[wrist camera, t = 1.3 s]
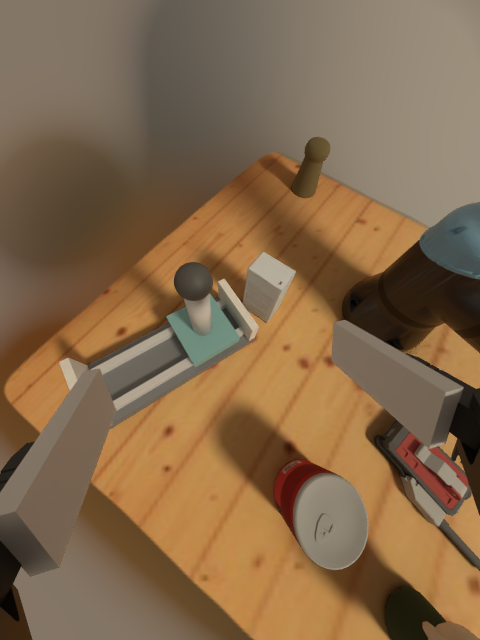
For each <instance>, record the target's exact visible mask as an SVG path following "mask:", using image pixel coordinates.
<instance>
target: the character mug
mask: <svg viewBox="0 0 480 640" xmlns="http://www.w3.org/2000/svg"><path fill="white" fill-rule="evenodd" d="M385 608H386V625H387V628H388V632H389V635H390V638H391V639H392V640H480V639H479V638H477V637H476V636H475V635H474V634H473V633H471V632H470V631H469V630H468V629H466V628H465V627H463V626H461V625H458V624H456V623H453V622H450V621H449V622H446V621H445V619H444V618H443V617H442V616H441V615H440V614H439V613H438V612H437V610H436V609H435V608H434V607H433V606H432V605H431V604H430V603H429V602H428V601H427V600H426V599H425V598H424V597H423V595H422V594H421V593H420V592H418V591H416V590H414V589H412V588H410V587H405V588H399V589H398V590H397V591H396V592H395V593H393V594H392V595H391V597H390V599H389V601H388V603H387V604H386V606H385Z"/></svg>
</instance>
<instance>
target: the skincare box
mask: <svg viewBox="0 0 480 640" xmlns="http://www.w3.org/2000/svg"><path fill="white" fill-rule="evenodd" d="M295 273H296V271H295V270H293V269H291V268H290V267H288V266H286V265H285V264H283V263H281V262H280V261H278V260H276V259H275V258H273V257H271V256H270V255H268V254H267V253H265V252H262V253H261V255H260V256H259V257H258V258H257V259H256V260H255V261H254V262H253V263H252V264H251V265H250V266H249V268H248V271H247V278H246V284H245V290H244V296H243V302H242V304H243V305H244V307H245V308H246V309H247V310H249V311H250V312H252V313H253V314H255V315H256V316H258V317H259V318H260V319H262V320H263V321H265V322H266V323H268V321H269V320H270V319H271V317H272V316H273V315H274V313H275V312H276V311H277V309H278V308H279V306H280V304H281V302H282V300H283V298H284V296H285V294H286V292H287V289H288V287H289V285H290V283H291V281H292V279H293V277H294V275H295Z"/></svg>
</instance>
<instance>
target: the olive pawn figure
mask: <svg viewBox="0 0 480 640" xmlns="http://www.w3.org/2000/svg"><path fill="white" fill-rule="evenodd" d="M329 152H330V144H329V142H328V141H327V140H325V139H324V138H321V137H315V138H312V139H310V140H309V141H308V143H307V145H306V147H305V158H304V160H303V162H302V164H301V166H300V169H299V171H298V173H297V175H296V177H295V180H294V182H293V184H292V187H291V189H292V192H293V193H294V194H295V195H297V196H299V197H301V198H310V197H312V196H313V195H314V194H315V191H316V187H317V183H318V180H319V176H320V172H321V168H322V164H323V161H325V160H326V158H327V157H328V155H329Z"/></svg>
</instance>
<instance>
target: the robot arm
mask: <svg viewBox="0 0 480 640" xmlns="http://www.w3.org/2000/svg"><path fill="white" fill-rule="evenodd" d="M342 311H343V317H344V320H341V321H336V322H334V325H333V343H332V362H333V363H334V364H335V365H336V366H337V367H339V368H340V369H341V370H342V371H343V372H344V373H345V374H346V375H348V376H349V377H350V378H351V379H352V380H353V381H354V382H355V383H356V384H358V385H359V386H360V387H361V388H362V389H363V390H364V391H365V392H366V393H368V394H369V395H370V396H371V397H372V398H373V399H374V400H375V401H376V402H378V403H379V404H380V405H381V406H382V407H383V408H384V409H385V410H386V411H388V412H389V413H390V414H391V415H392V416H393V417H394V418H395V419H396V420H398V421H399V422H400V423H401V424H402V425H403V426H404V427H405V428H406V429H408V430H409V431H410V432H411V433H412V434H413V435H414V436H415V437H416V438H418V439H419V440H420V441H421V442H422V443H423V444H424V445H425V446H426V447H428V448H429V449H431V448H434V447H437V446H440V445H443V444H446V440H447V437H448V434H449V432H450V433H452V434H453V435H454V436H455V437H457V441H456V444H455V447H454V450H453V453H452V456H451V460H452V461H455V460H456V458H457V456H458V455H459V456H460V459H461V463H462V465H463V468H464V471H465V474H466V477H467V479H468V482H469V485H470V488H471V491H472V494H473V497H474V500H475V503H476V506H477V509H478V512H479V515H480V388H479V389H475V388H473V387H471V386H470V385H468V384H466V383H464V382H462V381H460V380H459V379H457V378H455V377H453V376H451V375H450V374H448V373H446V372H444V371H442V370H439V368H437V367H435V366H433V365H430V363H428V362H426V361H424V360H422V359H421V358H419V357H416V356H413V355H410V354H407V353H405V354H404V353H403V352H404V351H407V350H410V349H412V348H414V347H416V346H417V345H418V344H420V343H421V342H422V341H423V340H424V339H425V337H426V336H427V335H428V334H429V333H430V332H431V331H432V330H433V329H434V328H435V327H436V326H439V325H441V324H443V323H446V324H447V325H448V326H449V327H450V328H451V329H453V330H454V331H455V332H456V333H457V334H458V335H460V336H461V337H462V338H463V339H464V340H465V341H466V342H467V343H469V344H470V345H471V346H472V347H473V348H474V349H476V350H477V351H478V352H479V353H480V202H478V203H472V204H468V205H465V206H462V207H460V208H457V209H456V210H454V211H452V212H451V213H449V214H448V215H447V216H446V217H444V218H443V219H442V220H441V221H440V222H439V223H437V224H436V225H435V226H433V227H431V228H429V229H428V230H426V231H425V232H424V233H423V235H422V236H421V238H420V240H419V241H417V242H416V243H415V244H414V245H413V246H412V247H411V248H410V249H408V250H407V251H406V252H405V253H404V254H403V255H402V256H401V257H399V258H398V259H397V260H396V261H395V262H394V263H393V264H392V265H390V266H389V267H388V268H387V269H386V270H385V271H384V272H382V273H379V274H377V275H374V276H372V277H369V278H367V279H364V280H362V281H360V282H359V283H357V284H356V285H355V286H354V287H353V288H352V289H351V290H350V291H349V292H348V293H347V295H346V296H345V298H344V301H343V307H342ZM115 413H116V408H115V405H114V403H113V400H112V398H111V395H110V393H109V390H108V388H107V385H106V383H105V380H104V378H103V375H102V373H101V370H100V368H99V369H94V370H89V371H84V372H83V373H82V375H81V376H80V377H79V379H78V380H77V382H76V383H75V385H74V386H73V388H72V389H71V390H70V392H69V393H68V395H67V396H66V398H65V399H64V401H63V402H62V404H61V405H60V406H59V408H58V409H57V411H56V412H55V414H54V415H53V417H52V418H51V419H50V421H49V422H48V424H47V425H46V427H45V428H44V430H43V431H42V433H41V434H40V435H39V437H38V438H37V440H36V441H35V442H31V443H27V444H26V445H24V446H23V447H22V448H21V449H20V450H19V451H18V452H17V453H15V454H14V455H13V456H12V457H11V459H10V460H9V461H8V462H7V464H6V465H5V466H4V468H3V469H2V470H1V474H0V640H32V637H31V634H30V630H29V627H28V623H27V620H26V616H25V613H24V610H23V606H22V603H21V600H20V596H19V593H18V589H17V588H16V587H15V586H14V585H13V582H14V580H15V578H16V576H17V574H18V572H19V570H20V567H22V568H23V569H24V570H25V571H26V572H27V573H28V575H29V576H34V575H37V574H40V573H43V572H46V571H49V570H53V569H56V568H59V566H60V564H61V561H62V558H63V555H64V553H65V550H66V547H67V544H68V542H69V539H70V536H71V533H72V530H73V528H74V525H75V522H76V520H77V517H78V514H79V511H80V509H81V506H82V503H83V500H84V498H85V495H86V492H87V489H88V487H89V484H90V481H91V478H92V476H93V473H94V470H95V467H96V465H97V462H98V459H99V456H100V454H101V451H102V448H103V445H104V443H105V440H106V437H107V434H108V432H109V429H110V426H111V423H112V421H113V418H114V415H115Z"/></svg>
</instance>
